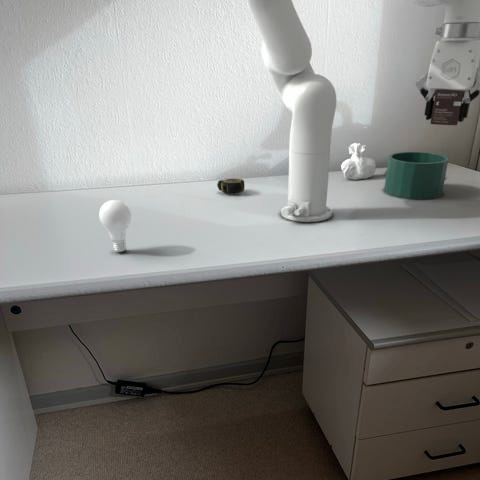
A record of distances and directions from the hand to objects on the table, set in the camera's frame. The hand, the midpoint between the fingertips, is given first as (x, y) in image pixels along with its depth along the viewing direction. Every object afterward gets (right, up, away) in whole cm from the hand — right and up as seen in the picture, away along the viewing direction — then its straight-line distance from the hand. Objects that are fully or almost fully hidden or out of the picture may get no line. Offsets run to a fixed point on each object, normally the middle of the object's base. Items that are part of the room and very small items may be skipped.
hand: (444, 119), depth 117 cm
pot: (+1, -11, +24) cm, 26 cm away
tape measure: (-51, -11, +26) cm, 59 cm away
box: (0, -1, +1) cm, 1 cm away
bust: (-12, -3, +39) cm, 41 cm away
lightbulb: (-74, -33, -13) cm, 82 cm away
